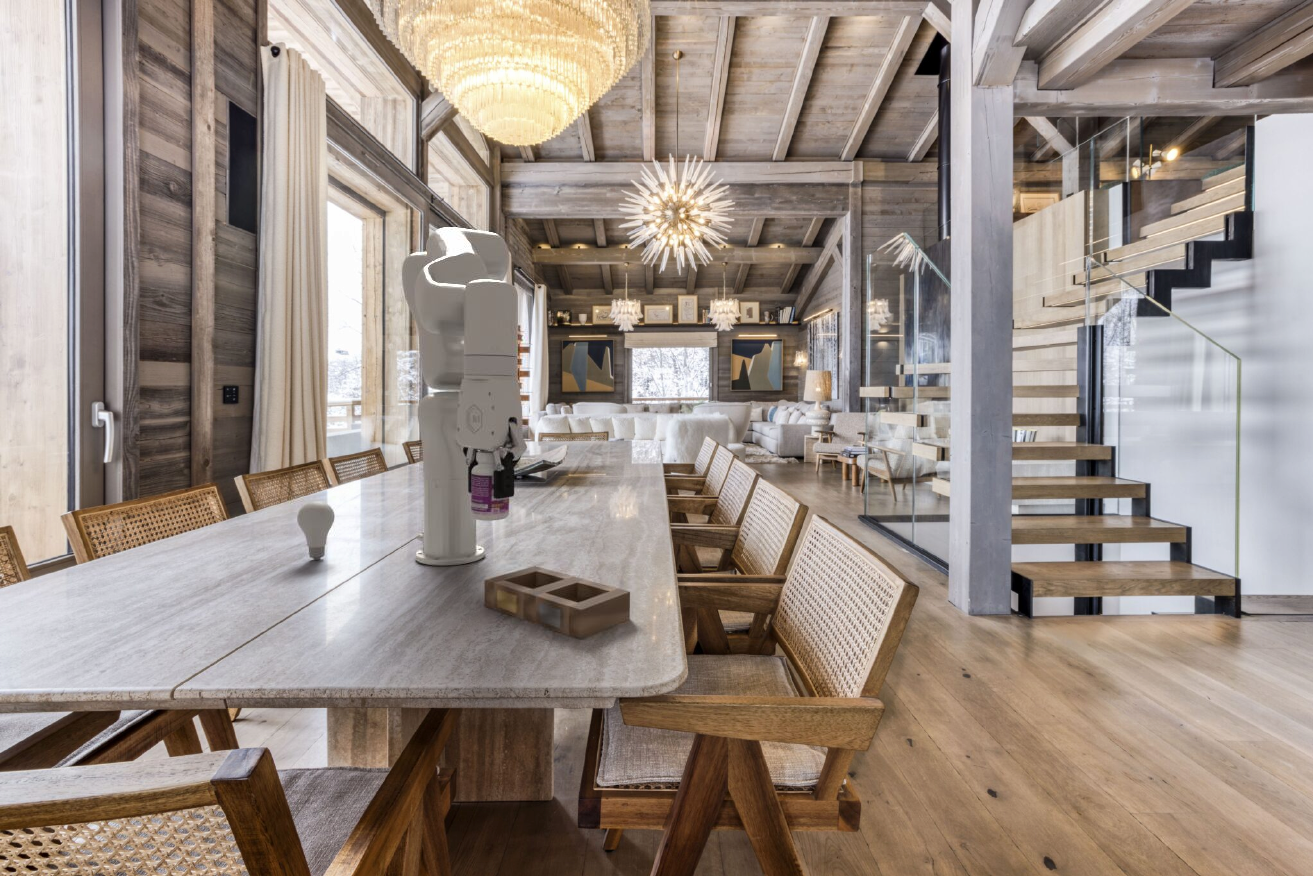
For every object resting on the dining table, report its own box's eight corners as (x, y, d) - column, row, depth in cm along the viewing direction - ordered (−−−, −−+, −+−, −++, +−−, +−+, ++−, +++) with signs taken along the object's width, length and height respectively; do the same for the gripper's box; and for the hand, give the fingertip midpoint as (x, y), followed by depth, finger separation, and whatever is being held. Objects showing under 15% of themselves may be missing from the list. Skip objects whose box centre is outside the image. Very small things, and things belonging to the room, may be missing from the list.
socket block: (482, 606, 97) (482, 580, 96) (534, 590, 105) (534, 566, 105) (578, 640, 85) (579, 610, 84) (629, 618, 93) (630, 591, 93)
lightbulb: (324, 564, 117) (323, 504, 116) (291, 563, 117) (289, 503, 117) (341, 555, 123) (340, 498, 123) (309, 555, 124) (308, 498, 123)
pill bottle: (498, 522, 91) (498, 454, 90) (464, 519, 92) (464, 452, 92) (515, 515, 96) (516, 450, 95) (483, 512, 98) (483, 449, 97)
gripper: (434, 368, 95) (435, 490, 97) (506, 368, 84) (506, 506, 86) (478, 370, 101) (478, 485, 102) (550, 370, 90) (549, 499, 91)
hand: (491, 493), depth 94 cm, fingers closed on pill bottle, 5 cm apart
